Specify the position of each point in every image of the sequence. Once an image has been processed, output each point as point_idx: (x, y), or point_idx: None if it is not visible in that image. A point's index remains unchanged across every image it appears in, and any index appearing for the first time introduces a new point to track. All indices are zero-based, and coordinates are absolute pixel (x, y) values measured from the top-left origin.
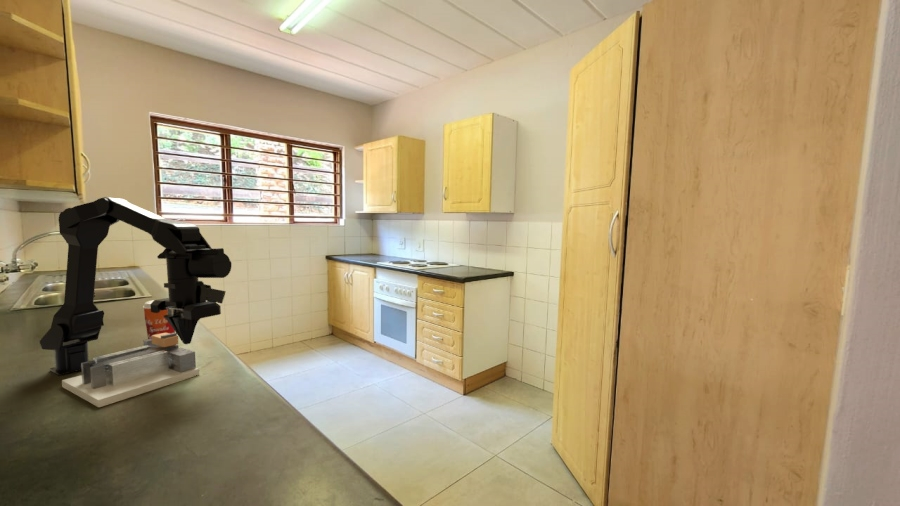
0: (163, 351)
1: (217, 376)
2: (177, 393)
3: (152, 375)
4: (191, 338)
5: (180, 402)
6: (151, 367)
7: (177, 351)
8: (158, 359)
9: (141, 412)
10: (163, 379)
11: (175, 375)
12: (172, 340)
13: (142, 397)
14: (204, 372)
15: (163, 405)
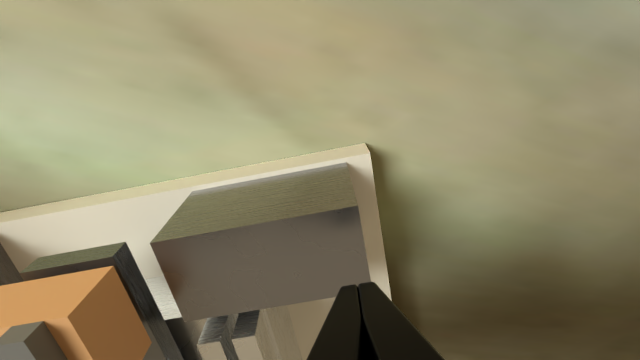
0: (222, 346)
1: (470, 85)
2: (509, 258)
3: (292, 311)
4: (395, 307)
5: (605, 270)
6: (286, 343)
7: (251, 279)
8: (273, 345)
9: (559, 353)
10: (387, 294)
11: (376, 252)
12: (110, 330)
13: (432, 335)
14: (348, 113)
15: (572, 308)
